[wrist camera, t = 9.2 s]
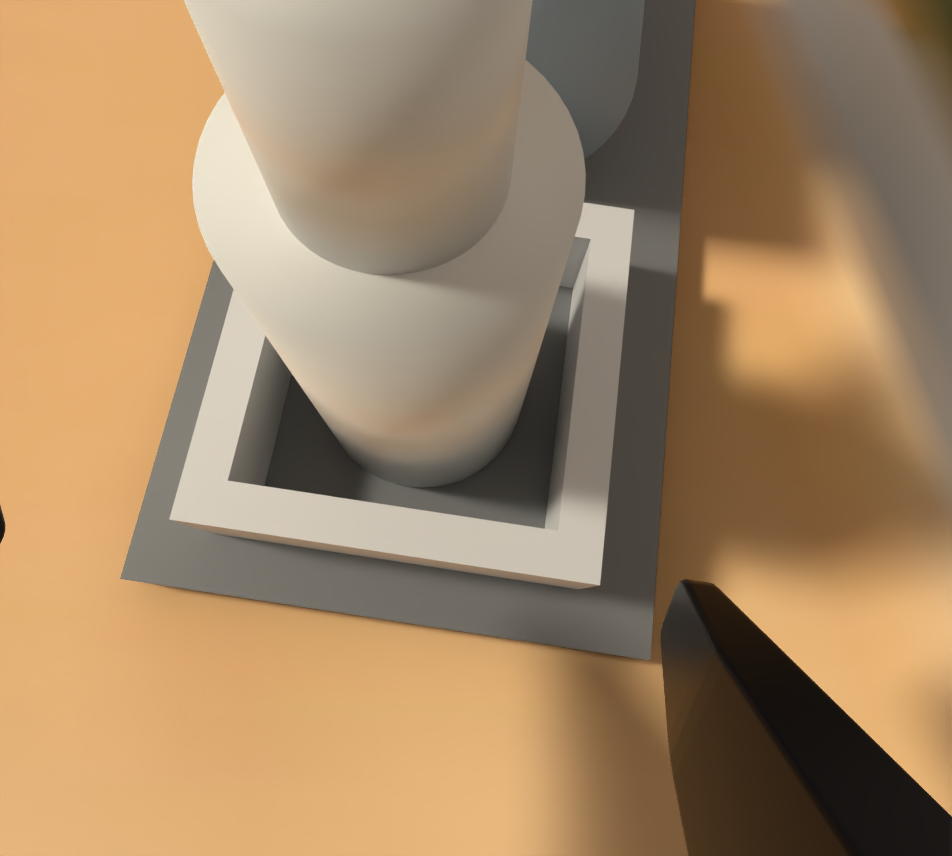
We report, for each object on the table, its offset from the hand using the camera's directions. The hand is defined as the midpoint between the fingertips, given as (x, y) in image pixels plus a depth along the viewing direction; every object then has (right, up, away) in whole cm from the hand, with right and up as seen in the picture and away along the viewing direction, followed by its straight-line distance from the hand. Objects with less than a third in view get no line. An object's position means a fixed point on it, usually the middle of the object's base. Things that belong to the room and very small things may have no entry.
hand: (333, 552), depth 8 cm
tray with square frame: (+1, +8, +11) cm, 14 cm away
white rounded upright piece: (0, +3, +9) cm, 9 cm away
